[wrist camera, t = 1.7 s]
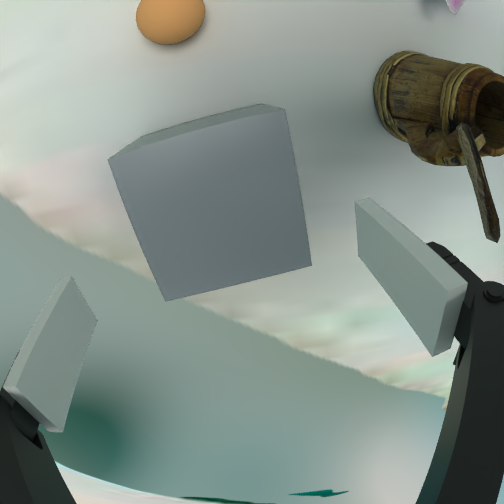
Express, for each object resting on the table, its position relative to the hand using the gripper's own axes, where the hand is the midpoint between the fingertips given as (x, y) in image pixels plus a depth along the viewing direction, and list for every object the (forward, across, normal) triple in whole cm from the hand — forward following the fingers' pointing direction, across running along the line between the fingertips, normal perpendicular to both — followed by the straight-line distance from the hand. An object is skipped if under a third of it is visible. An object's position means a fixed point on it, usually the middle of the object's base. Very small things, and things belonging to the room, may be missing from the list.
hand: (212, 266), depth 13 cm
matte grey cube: (+15, 0, 0) cm, 15 cm away
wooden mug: (+15, -18, -3) cm, 23 cm away
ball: (+12, 0, -14) cm, 18 cm away
